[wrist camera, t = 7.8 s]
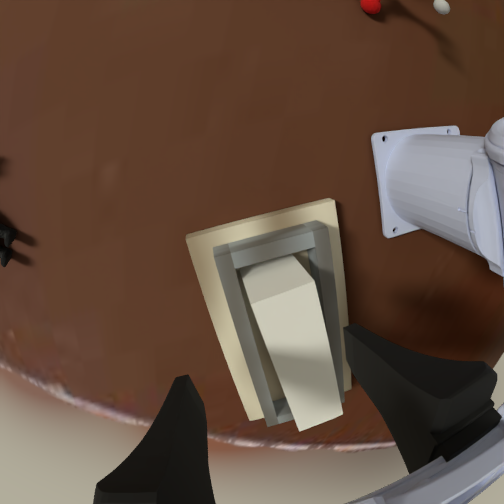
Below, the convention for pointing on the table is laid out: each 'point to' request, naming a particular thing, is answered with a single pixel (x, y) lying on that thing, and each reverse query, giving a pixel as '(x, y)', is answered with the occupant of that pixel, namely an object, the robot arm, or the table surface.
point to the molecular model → (373, 6)
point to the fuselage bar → (294, 337)
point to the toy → (6, 243)
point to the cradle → (238, 305)
